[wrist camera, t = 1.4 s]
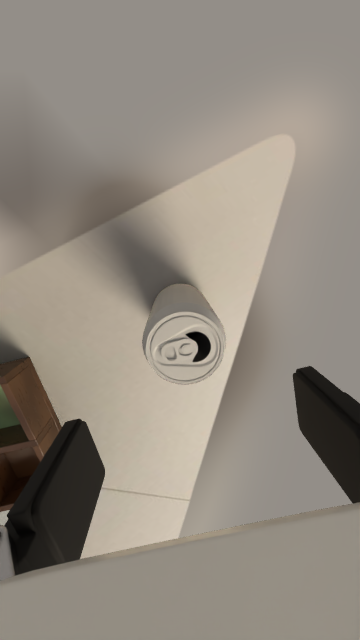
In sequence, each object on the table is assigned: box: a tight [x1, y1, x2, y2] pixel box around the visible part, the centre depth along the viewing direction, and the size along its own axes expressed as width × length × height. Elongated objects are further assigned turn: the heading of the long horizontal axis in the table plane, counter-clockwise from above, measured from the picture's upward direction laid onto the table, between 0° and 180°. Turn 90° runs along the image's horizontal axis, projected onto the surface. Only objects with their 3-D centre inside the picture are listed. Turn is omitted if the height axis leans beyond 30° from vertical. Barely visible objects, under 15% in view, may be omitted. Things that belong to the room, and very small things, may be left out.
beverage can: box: [142, 284, 226, 385], centre depth 23 cm, size 6×6×12 cm
